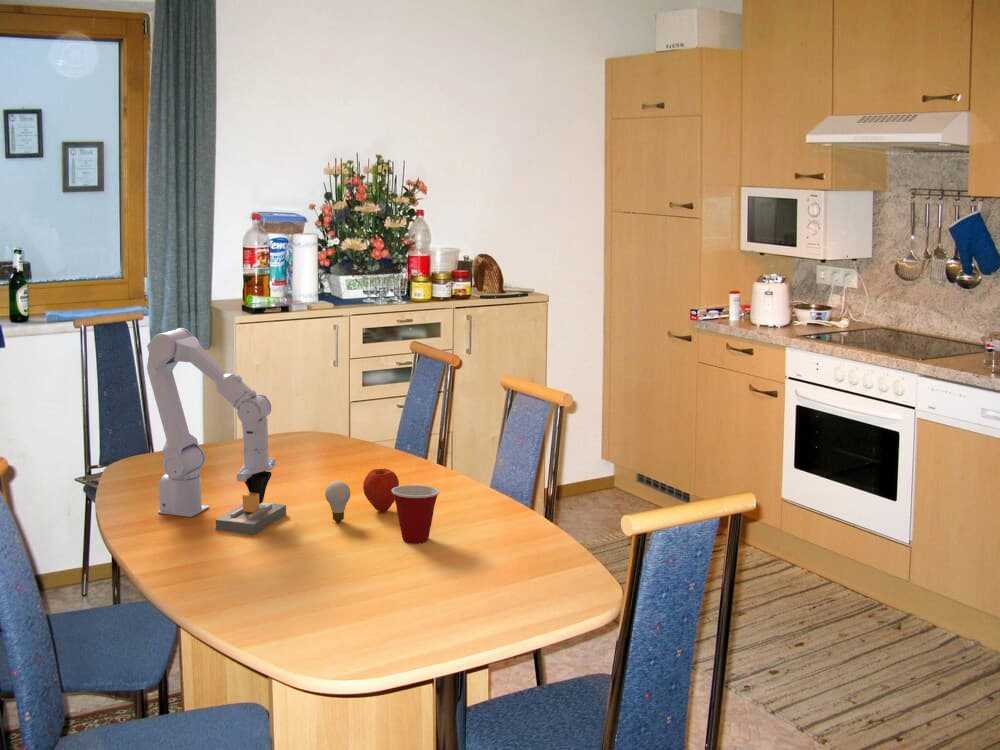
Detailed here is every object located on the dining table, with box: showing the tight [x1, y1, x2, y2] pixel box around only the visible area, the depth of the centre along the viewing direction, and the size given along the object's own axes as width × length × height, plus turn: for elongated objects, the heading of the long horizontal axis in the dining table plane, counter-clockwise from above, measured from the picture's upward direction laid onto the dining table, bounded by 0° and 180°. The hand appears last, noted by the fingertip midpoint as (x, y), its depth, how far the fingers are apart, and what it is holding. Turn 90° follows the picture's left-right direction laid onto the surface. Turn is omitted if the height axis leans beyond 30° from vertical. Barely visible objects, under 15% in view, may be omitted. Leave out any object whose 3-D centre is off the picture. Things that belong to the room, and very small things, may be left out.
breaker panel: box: [215, 501, 287, 536], centre depth 262 cm, size 10×15×3 cm, turn 162°
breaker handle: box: [242, 491, 260, 513], centre depth 261 cm, size 3×2×4 cm
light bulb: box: [324, 480, 351, 523], centre depth 262 cm, size 6×6×10 cm
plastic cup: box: [391, 484, 441, 545], centre depth 251 cm, size 11×11×12 cm
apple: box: [362, 468, 400, 513], centre depth 270 cm, size 9×8×11 cm
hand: (257, 502), depth 264 cm, fingers closed
